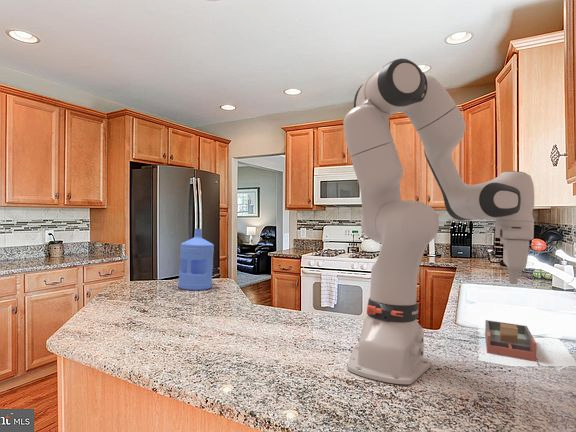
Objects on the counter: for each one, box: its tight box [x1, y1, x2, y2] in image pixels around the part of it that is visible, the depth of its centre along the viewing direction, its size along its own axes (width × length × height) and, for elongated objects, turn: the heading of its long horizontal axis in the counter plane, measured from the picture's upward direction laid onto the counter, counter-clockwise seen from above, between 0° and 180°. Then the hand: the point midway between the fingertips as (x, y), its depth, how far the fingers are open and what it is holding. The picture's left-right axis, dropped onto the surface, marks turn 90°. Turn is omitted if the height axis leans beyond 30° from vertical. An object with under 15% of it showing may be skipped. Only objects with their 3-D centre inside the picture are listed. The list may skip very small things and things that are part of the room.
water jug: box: [177, 228, 215, 291], centre depth 172 cm, size 16×16×28 cm
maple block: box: [500, 323, 518, 343], centre depth 103 cm, size 4×4×4 cm
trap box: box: [484, 319, 538, 362], centre depth 104 cm, size 20×11×4 cm, turn 153°
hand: (513, 283), depth 97 cm, fingers closed
